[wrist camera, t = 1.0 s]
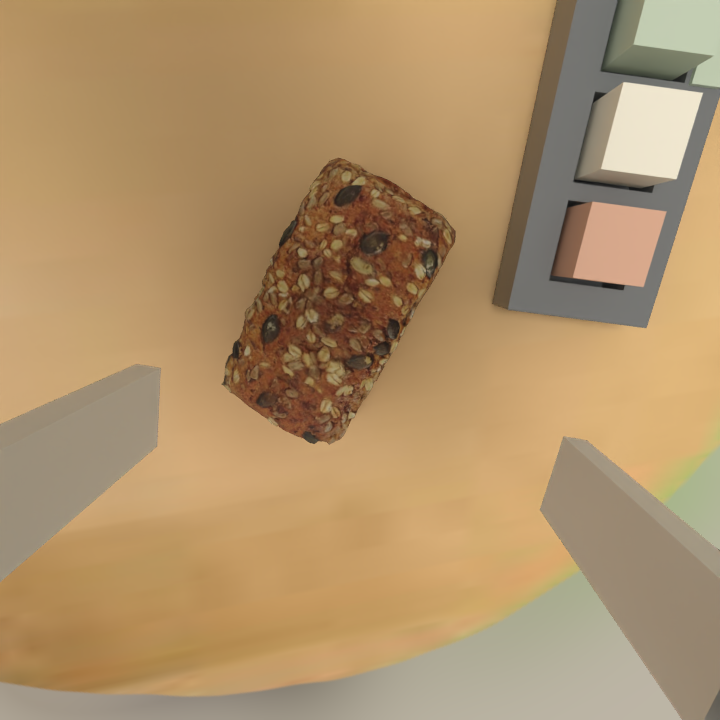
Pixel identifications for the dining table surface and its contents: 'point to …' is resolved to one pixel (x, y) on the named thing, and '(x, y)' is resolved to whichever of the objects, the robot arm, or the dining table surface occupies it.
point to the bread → (335, 301)
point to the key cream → (637, 135)
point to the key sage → (662, 37)
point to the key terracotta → (608, 243)
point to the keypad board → (560, 190)
